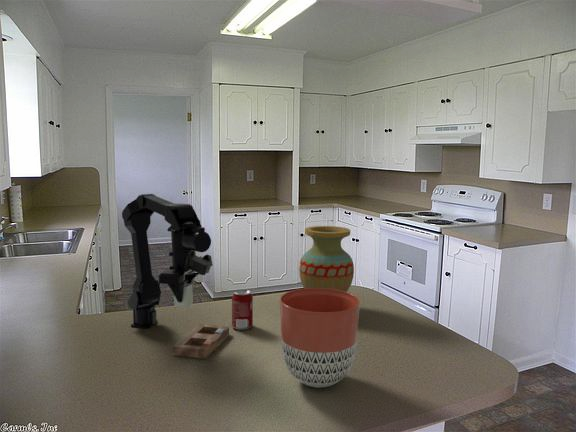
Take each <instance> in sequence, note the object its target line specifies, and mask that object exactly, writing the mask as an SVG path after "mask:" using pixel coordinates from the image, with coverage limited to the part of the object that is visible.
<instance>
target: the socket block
mask: <svg viewBox="0 0 576 432" xmlns="http://www.w3.org/2000/svg"><path fill="white" fill-rule="evenodd" d="M229 335H230V326H224V325H214V324H207V323H204V324H203V323H199V324H198V325H196V326H195V327H194V328H193V329H191V330H190V331H189V332H188V333H187V334H186V335H184V336H183V337H182V338H181V339H180V340H179V341H178V342H177V343H175V345H173V347H172V352H173V353H172V355H173V356H178V357H188V358H196V359H204V360H206V359H208V358H209V357H210V356H211V354H213V353H214V351H215V350H217V348H218V347H219V346H220V345H221V344H222V343H223V342H224V340H225V339H227V337H229Z"/></svg>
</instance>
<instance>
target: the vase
mask: <svg viewBox="0 0 576 432" xmlns="http://www.w3.org/2000/svg"><path fill="white" fill-rule="evenodd" d="M304 234H305V235H307V236H308V237H310V238H311V239H312V241H313V243H312V247H311V248H310V249H308V250H307V251H305V252H304V254H302V256H301V258H300V262H299V267H298V268H299V269H298V270H299V272H298V275H299V279H300V283H301V286H302V287H303V289H304V288H328V289H335V290H340V291H344V292H348V291H349V289H350V287H351V285H352V283H353V279H354V274H355V264H354V261H353V258H352V257H351V255H350V254H349V253H348V252H346V251H345V250H344V248H342V240H343V239H345V238H346V237H349V236H350V235H351V229H349V228H347V227H343V226H334V225H333V226H332V225H315V226H307V227H305V228H304Z"/></svg>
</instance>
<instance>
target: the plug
mask: <svg viewBox="0 0 576 432" xmlns="http://www.w3.org/2000/svg"><path fill="white" fill-rule="evenodd" d="M193 293H194V292H193V283H192V284H190V283H185V284H184V289H183V299H182V302H178V301H177V299H176V297H175V295H174V294H173V304H174V305H173V307H175V308H188V307H190V306H191V305H193V304H194V301H193V298H194V297H193Z"/></svg>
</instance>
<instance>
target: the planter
mask: <svg viewBox="0 0 576 432" xmlns="http://www.w3.org/2000/svg"><path fill="white" fill-rule="evenodd" d="M279 298H280V299H279V311H280V312H279V313H280V314H279V315H280V333H281V334H280V335H281V350H282V351H281V352H282V356H283V360H284V363H285V366H286V368H287V370H288V372H289V373H290V374H291V375H292V377H294V378H295V379H296V380H297V381H298V382H299V383H301V384H303V385H305V386H307V387H311V388H318V389H321V388H328V387H331V386H333V385H336V384H338V383H339V382H341V380H343V379H344V378H345V377H346V376H347V375H348V373H349V372H350V370H351V368H352V365H353V363H354V359H355V356H356V350H357V349H356V347H357V346H356V345H357V337H358V327H359V319H360V318H359V316H360V308H361V307H360V305H361V301H360V299H359V298H358V297H357V296H356V295H354V294H353V293H350V292H348V291H347V292H344V291H340V290H335V289H328V288H304V287H303V288H298V289H294V290H290V291H287V292H285V293H282V295H281V296H280V297H279Z"/></svg>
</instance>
